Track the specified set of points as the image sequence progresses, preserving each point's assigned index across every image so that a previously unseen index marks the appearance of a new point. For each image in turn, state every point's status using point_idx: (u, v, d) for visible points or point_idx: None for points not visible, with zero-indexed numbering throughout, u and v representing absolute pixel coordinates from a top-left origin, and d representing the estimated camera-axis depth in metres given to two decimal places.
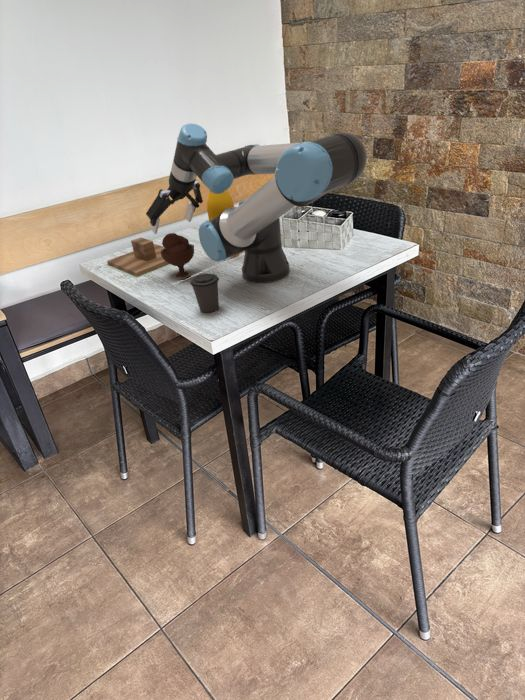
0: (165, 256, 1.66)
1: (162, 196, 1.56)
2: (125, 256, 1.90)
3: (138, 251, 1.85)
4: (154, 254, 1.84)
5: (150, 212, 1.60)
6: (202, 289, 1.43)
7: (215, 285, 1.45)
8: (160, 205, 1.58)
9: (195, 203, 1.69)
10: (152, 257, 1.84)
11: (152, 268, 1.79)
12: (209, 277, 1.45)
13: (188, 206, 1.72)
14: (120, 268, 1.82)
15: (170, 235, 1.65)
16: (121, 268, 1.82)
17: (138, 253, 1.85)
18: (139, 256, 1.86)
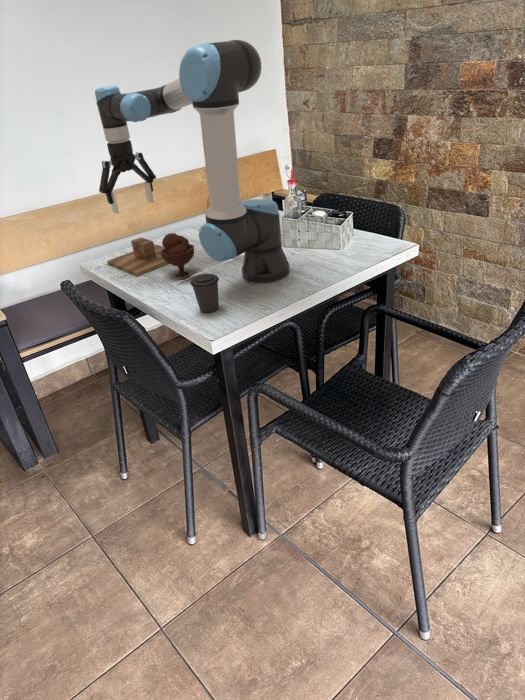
0: (165, 256, 1.66)
1: (105, 164, 1.66)
2: (125, 256, 1.90)
3: (138, 251, 1.85)
4: (154, 254, 1.84)
5: (101, 186, 1.68)
6: (202, 289, 1.43)
7: (215, 285, 1.45)
8: (106, 175, 1.67)
9: (148, 178, 1.77)
10: (152, 257, 1.84)
11: (152, 268, 1.79)
12: (209, 277, 1.45)
13: (145, 187, 1.79)
14: (120, 268, 1.82)
15: (170, 235, 1.65)
16: (121, 268, 1.82)
17: (138, 253, 1.85)
18: (139, 256, 1.86)
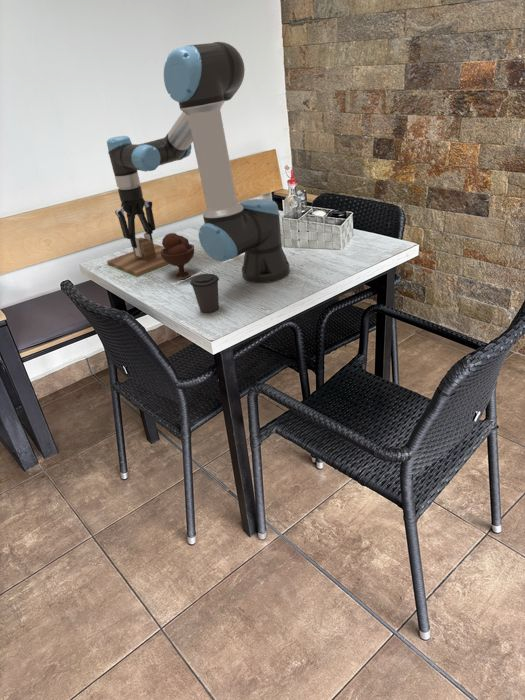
0: (165, 256, 1.66)
1: (118, 214, 1.74)
2: (125, 256, 1.90)
3: None
4: (154, 254, 1.84)
5: (124, 233, 1.79)
6: (202, 289, 1.43)
7: (215, 285, 1.45)
8: (124, 222, 1.76)
9: (148, 228, 1.83)
10: (152, 257, 1.84)
11: (152, 268, 1.79)
12: (209, 277, 1.45)
13: (145, 237, 1.85)
14: (120, 268, 1.82)
15: (170, 235, 1.65)
16: (121, 268, 1.82)
17: None
18: None
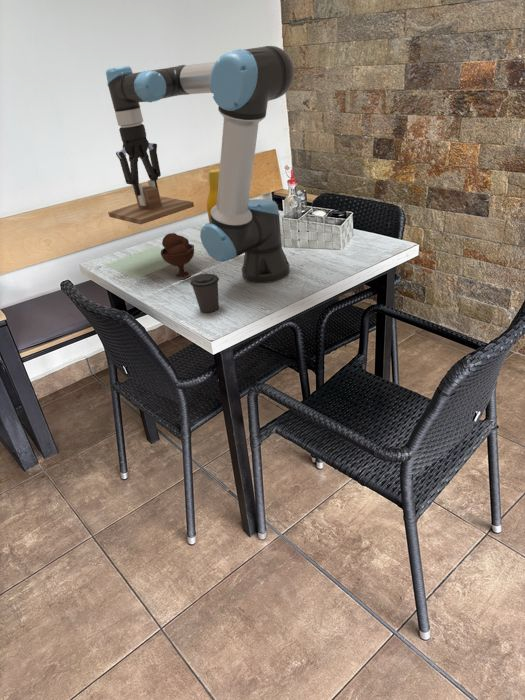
0: (165, 256, 1.66)
1: (120, 156, 1.58)
2: (128, 207, 1.74)
3: None
4: (159, 203, 1.68)
5: (126, 178, 1.62)
6: (202, 289, 1.43)
7: (215, 285, 1.45)
8: (126, 165, 1.59)
9: (153, 174, 1.66)
10: (157, 206, 1.67)
11: (157, 215, 1.62)
12: (209, 277, 1.45)
13: (149, 185, 1.69)
14: (122, 218, 1.66)
15: (170, 235, 1.65)
16: (123, 218, 1.65)
17: None
18: (143, 206, 1.69)
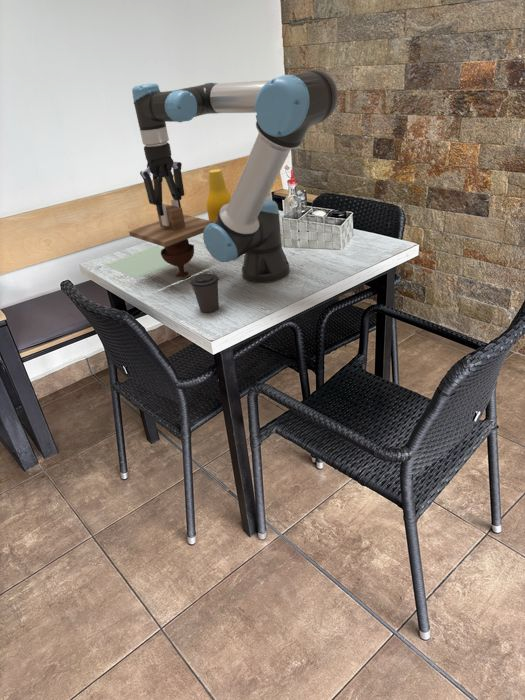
0: (165, 256, 1.66)
1: (144, 176, 1.52)
2: (149, 226, 1.68)
3: None
4: (183, 223, 1.63)
5: (150, 198, 1.57)
6: (202, 289, 1.43)
7: (215, 285, 1.45)
8: (150, 185, 1.54)
9: (177, 194, 1.61)
10: (181, 226, 1.62)
11: (182, 237, 1.57)
12: (209, 277, 1.45)
13: (172, 204, 1.63)
14: (144, 238, 1.61)
15: None
16: (146, 238, 1.60)
17: None
18: None
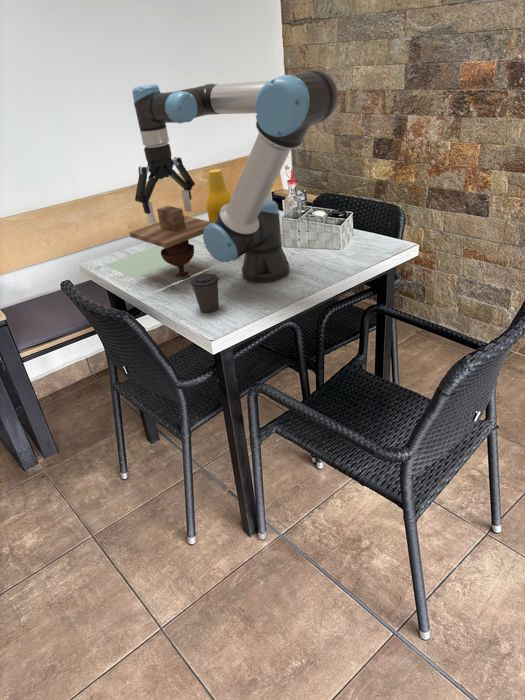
0: (165, 256, 1.66)
1: (142, 170, 1.51)
2: (150, 227, 1.69)
3: (165, 221, 1.63)
4: (183, 224, 1.63)
5: (137, 195, 1.54)
6: (202, 289, 1.43)
7: (215, 285, 1.45)
8: (143, 182, 1.52)
9: (186, 185, 1.62)
10: (181, 227, 1.62)
11: (182, 238, 1.57)
12: (209, 277, 1.45)
13: (183, 194, 1.65)
14: (145, 239, 1.61)
15: None
16: (146, 239, 1.60)
17: (165, 223, 1.63)
18: (166, 226, 1.64)
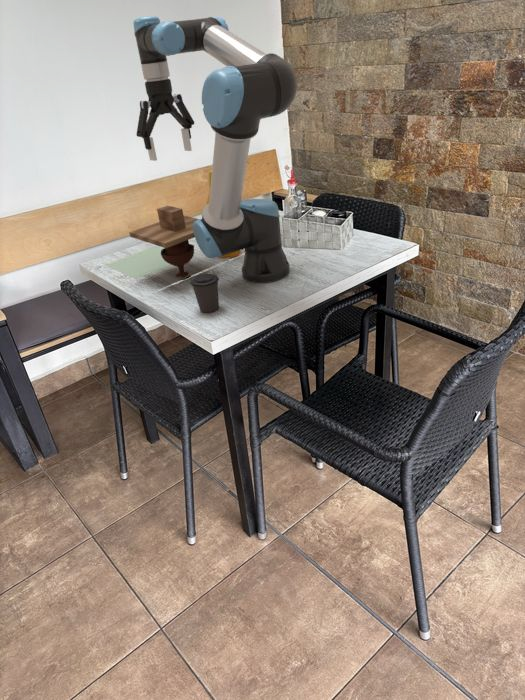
0: (165, 256, 1.66)
1: (143, 104, 1.52)
2: (150, 227, 1.69)
3: (165, 221, 1.63)
4: (183, 224, 1.63)
5: (139, 129, 1.55)
6: (202, 289, 1.43)
7: (215, 285, 1.45)
8: (145, 116, 1.53)
9: (186, 123, 1.64)
10: (181, 227, 1.62)
11: (182, 238, 1.57)
12: (209, 277, 1.45)
13: (182, 133, 1.66)
14: (145, 239, 1.61)
15: None
16: (146, 239, 1.60)
17: (165, 223, 1.63)
18: (166, 226, 1.64)
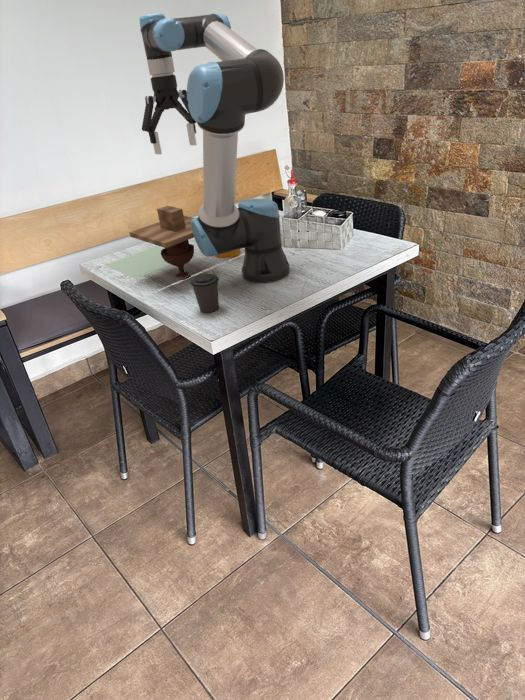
0: (165, 256, 1.66)
1: (148, 99, 1.57)
2: (150, 227, 1.69)
3: (165, 221, 1.63)
4: (183, 224, 1.63)
5: (144, 124, 1.59)
6: (202, 289, 1.43)
7: (215, 285, 1.45)
8: (150, 111, 1.57)
9: (191, 118, 1.68)
10: (181, 227, 1.62)
11: (182, 238, 1.57)
12: (209, 277, 1.45)
13: (188, 128, 1.70)
14: (145, 239, 1.61)
15: None
16: (146, 239, 1.60)
17: (165, 222, 1.63)
18: (166, 226, 1.64)
